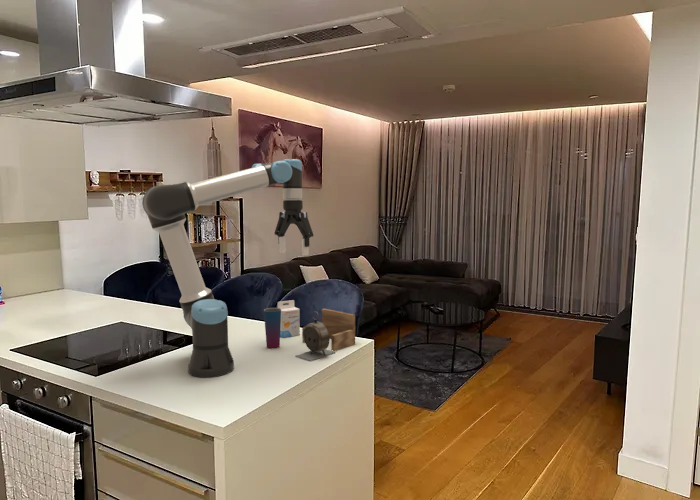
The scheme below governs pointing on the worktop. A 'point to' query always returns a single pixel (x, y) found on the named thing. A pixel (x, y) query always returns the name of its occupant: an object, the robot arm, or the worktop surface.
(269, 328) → the cup
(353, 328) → the wooden holder
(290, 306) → the ink box
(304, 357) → the slate pad
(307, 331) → the alarm clock
